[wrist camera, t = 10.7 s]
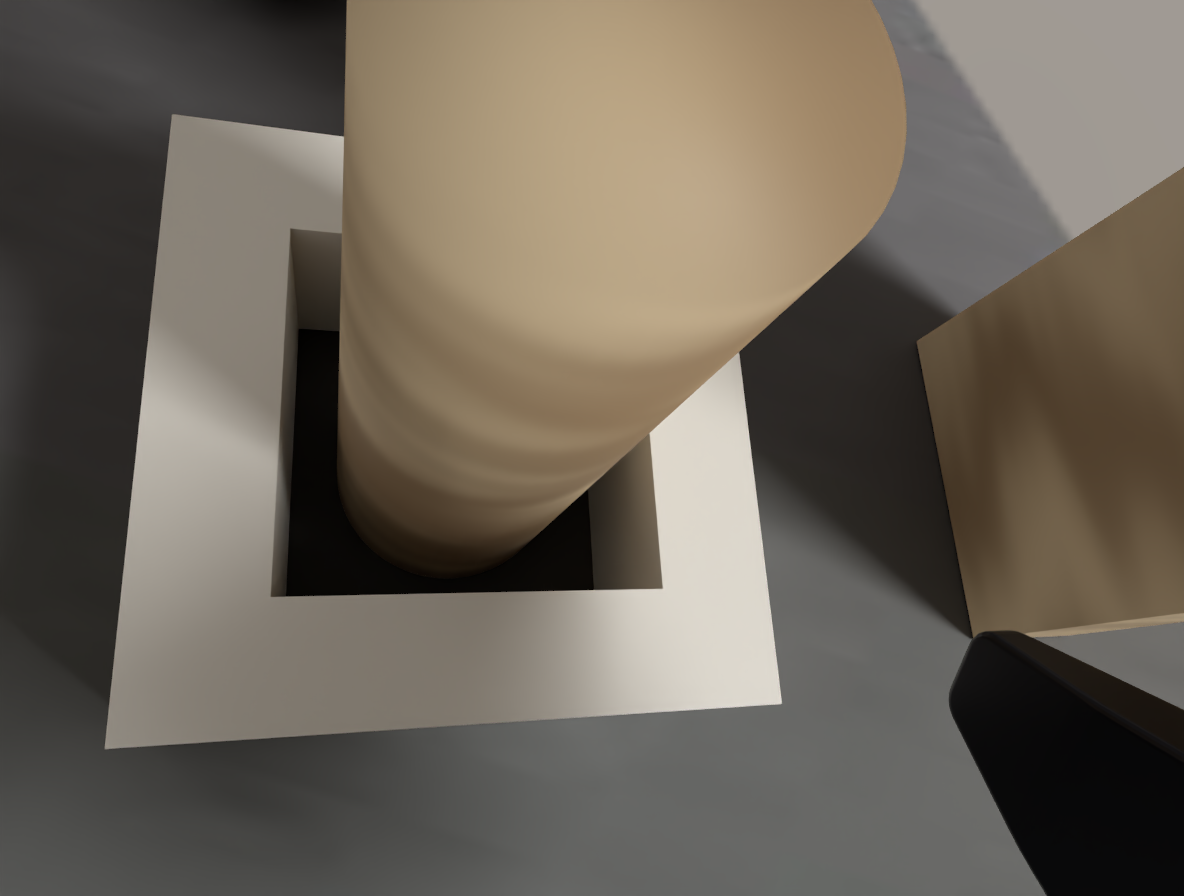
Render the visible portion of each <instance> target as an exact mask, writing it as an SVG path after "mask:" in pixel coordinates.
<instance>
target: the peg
mask: <svg viewBox="0 0 1184 896" xmlns="http://www.w3.org/2000/svg"><path fill="white" fill-rule="evenodd" d="M906 134H907V131H906V102H905V96H904V89H903V83H902V77H901V73H900V69H899V66H898V62H897V59H896V55H895V52H894V48H893V46H892V43H891V41H890V39H889V36H888V34H887V31H886V29H885V26H884V24H883V22H882V19H881V17H880V15H879V14H878V12H877V10H876V8H875V6H874V4H873V3H872V1H871V0H347V17H346V64H345V110H344V157H343V204H342V251H341V297H340V344H339V391H338V437H337V485H338V491H339V496H340V500H341V503H342V506H343V509H344V512H345V514H346V516H347V518H348V520H349V522H350V524H351V526H352V527H353V529H354V530H355V531H356V533H357V534H358V536H359V537H360V538H361V539H362V541H363V542H364V543H365V544H366V545H367V546H368V547H369V548H370V549H371V550H372V551H374V552H375V553H376V554H377V555H378V556H380V557H381V558H382V559H384V560H386V561H387V562H389V563H390V564H392V565H394V566H396V567H398V568H400V569H403V570H405V571H407V572H410V573H413V574H417V575H420V576H425V577H431V578H442V579H453V578H464V577H469V576H473V575H477V574H481V573H483V572H486V571H489V570H491V569H493V568H495V567H497V566H499V565H501V564H503V563H504V562H506V561H507V560H509V559H510V558H511V557H513V556H514V555H515V554H517V553H518V552H519V551H520V550H521V549H522V548H523V547H524V546H525V545H526V544H528V543H529V542H530V541H531V540H532V539H533V538H534V537H535V536H536V535H538V534H539V533H540V532H541V531H542V530H543V529H544V528H545V527H546V526H547V525H549V524H550V523H551V522H552V521H553V520H554V519H555V518H556V517H557V516H558V515H560V514H561V513H562V512H563V511H564V510H565V509H566V508H567V507H568V506H570V505H571V504H572V503H573V502H574V501H575V500H576V499H577V498H578V497H579V496H581V495H582V494H583V493H584V492H585V491H586V490H587V489H588V488H589V487H590V486H592V485H593V484H594V483H595V482H596V481H597V480H598V479H599V478H600V477H601V476H603V475H604V474H605V473H606V472H607V471H608V470H609V469H610V468H611V467H613V466H614V465H615V464H616V463H617V462H618V461H619V460H620V459H621V458H622V457H624V456H625V455H626V454H627V453H628V452H629V451H630V450H631V449H632V448H633V447H635V446H636V445H637V444H638V443H639V442H640V441H641V440H642V439H643V438H645V437H646V436H647V435H648V434H649V433H650V432H651V431H652V430H653V429H654V428H656V427H657V426H658V425H659V424H660V423H661V422H662V421H663V420H664V419H665V418H667V417H668V416H669V415H670V414H671V413H672V412H673V411H674V410H675V409H677V408H678V407H679V406H680V405H681V404H682V403H683V402H684V401H685V400H686V399H688V398H689V397H690V396H691V395H692V394H693V393H694V392H695V391H696V390H697V389H699V388H700V387H701V386H702V385H703V384H704V383H705V382H706V381H707V380H708V379H710V378H711V377H712V376H713V375H714V374H715V373H716V372H717V371H718V370H720V369H721V368H722V367H723V366H724V365H725V364H726V363H727V362H728V361H729V360H731V359H732V358H733V357H734V356H735V355H736V354H737V353H738V352H739V351H740V350H742V349H743V348H744V347H745V346H746V345H747V344H748V343H749V342H750V341H752V340H753V339H754V338H755V337H756V336H757V335H758V334H759V333H760V332H761V331H763V330H764V329H765V328H766V327H767V326H768V325H769V324H770V323H771V322H772V321H774V320H775V319H776V318H777V317H778V316H779V315H780V314H781V313H782V312H784V311H785V310H786V309H787V308H788V307H789V306H790V305H791V304H792V303H793V302H795V301H796V300H797V299H798V298H799V297H800V296H801V295H802V294H803V293H804V292H806V291H807V290H808V289H809V288H810V287H811V286H812V285H813V284H814V283H815V282H817V281H818V280H819V279H820V278H821V277H822V276H823V275H824V274H825V273H827V272H828V271H829V270H830V269H831V268H832V267H833V266H834V265H835V264H836V263H838V262H839V261H840V260H841V259H842V258H843V257H844V256H845V255H846V254H847V253H848V252H849V251H851V250H852V249H853V248H854V247H855V246H856V245H857V244H858V243H859V242H860V241H861V240H862V239H863V238H864V237H865V236H866V235H867V234H868V232H869V231H870V230H871V228H872V227H873V226H874V224H875V223H876V221H877V220H878V219H879V217H880V216H881V215H882V213H883V212H884V210H885V207H886V205H887V203H888V201H889V199H890V197H891V195H892V193H893V191H894V189H895V187H896V183H897V180H898V176H899V173H900V170H901V166H902V163H903V157H904V149H905V142H906Z"/></svg>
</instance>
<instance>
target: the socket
mask: <svg viewBox="0 0 1184 896" xmlns="http://www.w3.org/2000/svg"><path fill="white" fill-rule="evenodd" d="M343 157H344V137H342V136H334V135H327V134H319V133H312V132H304V131H297V130H289V129H281V128H274V127H266V126H259V125H251V124H243V123H236V122H228V121H221V120H213V119H205V118H198V117H190V116H183V115H175V114H172V120H171V129H170V139H169V148H168V157H167V167H166V176H165V185H164V195H163V204H162V214H161V223H160V232H159V242H158V251H157V261H156V270H155V279H154V289H153V298H152V308H151V317H150V326H149V336H148V345H147V355H146V364H145V373H144V383H143V392H142V402H141V411H140V420H139V430H138V439H137V449H136V458H135V467H134V477H133V486H132V495H131V505H130V514H129V524H128V533H127V542H126V552H125V561H124V571H123V580H122V589H121V599H120V608H119V618H118V627H117V636H116V646H115V655H114V665H113V674H112V683H111V693H110V702H109V712H108V721H107V730H106V740H105V749H114V748H129V747H144V746H158V745H173V744H188V743H203V742H218V741H233V740H248V739H263V738H278V737H293V736H308V735H323V734H338V733H353V732H368V731H383V730H398V729H413V728H428V727H443V726H458V725H473V724H488V723H503V722H518V721H533V720H548V719H563V718H578V717H593V716H608V715H622V714H637V713H652V712H667V711H682V710H697V709H712V708H727V707H742V706H757V705H772V704H782V700H781V692H780V684H779V676H778V667H777V659H776V651H775V643H774V635H773V626H772V618H771V610H770V602H769V594H768V585H767V577H766V569H765V561H764V553H763V544H762V536H761V528H760V520H759V512H758V503H757V495H756V487H755V479H754V471H753V462H752V454H751V446H750V438H749V430H748V421H747V413H746V405H745V397H744V389H743V380H742V372H741V364H740V356H739V352H738V353H737V354H736V355H735V356H734V357H733V358H732V359H731V360H729V361H728V362H727V363H726V364H725V365H724V366H723V367H722V368H721V369H720V370H718V371H717V372H716V373H715V374H714V375H713V376H712V377H711V378H710V379H708V380H707V381H706V382H705V383H704V384H703V385H702V386H701V387H700V388H699V389H697V390H696V391H695V392H694V393H693V394H692V395H691V396H690V397H689V398H688V399H686V400H685V401H684V402H683V403H682V404H681V405H680V406H679V407H678V408H677V409H675V410H674V411H673V412H672V413H671V414H670V415H669V416H668V417H667V418H665V419H664V420H663V421H662V422H661V423H660V424H659V425H658V426H657V427H656V428H654V429H653V430H652V431H651V432H650V433H649V434H648V435H647V436H646V437H645V438H643V439H642V440H641V441H640V442H639V443H638V444H637V445H636V446H635V447H633V448H632V449H631V450H630V451H629V452H628V453H627V454H626V455H625V456H624V457H622V458H621V459H620V460H619V461H618V462H617V463H616V464H615V465H614V466H613V467H611V468H610V469H609V470H608V471H607V472H606V473H605V474H604V475H603V476H601V477H600V478H599V479H598V480H597V481H596V482H595V483H594V484H593V485H592V486H590V487H589V488H588V499H589V515H590V532H591V548H592V565H593V581H594V590H580V591H532V592H485V593H437V594H390V595H342V596H295V597H286V583H287V562H288V541H289V521H290V500H291V479H292V459H293V438H294V417H295V396H296V376H297V355H298V334H299V329H311V330H326V331H340V297H341V251H342V204H343Z"/></svg>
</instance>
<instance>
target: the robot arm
mask: <svg viewBox="0 0 1184 896" xmlns="http://www.w3.org/2000/svg"><path fill="white" fill-rule="evenodd" d="M949 707H950V711H951V714H952V716H953V719H954V721H955V723H956V725H957V727H958V729H959V731H960V733H961V735H962V737H963V739H964V741H965V743H966V745H967V747H968V749H969V751H970V753H971V755H972V757H973V759H974V761H975V763H976V765H977V767H978V769H979V771H980V773H981V775H982V777H983V779H984V781H985V783H986V785H987V787H988V789H989V791H990V793H991V795H992V797H993V799H994V801H995V803H996V805H997V807H998V809H999V811H1000V813H1001V815H1002V817H1003V819H1004V821H1005V823H1006V825H1007V827H1008V829H1009V831H1010V833H1011V834H1012V836H1013V838H1014V840H1015V842H1016V844H1017V846H1018V848H1019V850H1020V851H1021V853H1022V855H1023V857H1024V858H1025V860H1026V862H1027V864H1028V865H1029V867H1030V869H1031V870H1032V872H1033V874H1034V876H1035V877H1036V879H1037V880H1038V882H1039V884H1040V885H1041V887H1042V889H1043V890H1044V892H1045V894H1046V895H1047V896H1184V710H1183V709H1181V708H1179V707H1177V706H1174V705H1172V704H1170V703H1168V702H1166V701H1164V700H1162V699H1160V698H1158V697H1156V696H1153V695H1151V694H1149V693H1147V692H1145V691H1143V690H1141V689H1139V688H1137V687H1135V686H1132V685H1130V684H1128V683H1126V682H1124V681H1122V680H1120V679H1118V678H1116V677H1114V676H1111V675H1109V674H1107V673H1105V672H1103V671H1101V670H1099V669H1097V668H1095V667H1093V666H1090V665H1088V664H1086V663H1084V662H1082V661H1080V660H1078V659H1076V658H1074V657H1072V656H1069V655H1067V654H1065V653H1063V652H1061V651H1059V650H1057V649H1055V648H1053V647H1051V646H1048V645H1046V644H1044V643H1042V642H1040V641H1038V640H1036V639H1034V638H1032V637H1030V636H1027V635H1025V634H1023V633H1021V632H1018V631H1013V630H1001V631H984V632H981V633H978V634H977V635H976V636H975V637H974V638H973V639H972V641H971V642H970V644H969V646H968V649H967V651H966V653H965V656H964V658H963V660H962V663H961V665H960V667H959V670H958V672H957V674H956V677H955V679H954V681H953V684H952V686H951V689H950V692H949Z"/></svg>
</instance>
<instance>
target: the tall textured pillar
mask: <svg viewBox="0 0 1184 896" xmlns="http://www.w3.org/2000/svg"><path fill="white" fill-rule="evenodd" d="M917 346H918V351H919V357H920V362H921V367H922V372H923V377H924V383H925V388H926V393H927V398H928V404H929V409H930V414H931V419H932V425H933V430H934V435H935V440H936V445H937V451H938V456H939V461H940V466H941V472H942V477H943V482H944V487H945V493H946V498H947V503H948V508H949V513H950V519H951V524H952V529H953V534H954V540H955V545H956V550H957V555H958V561H959V566H960V571H961V576H962V581H963V587H964V592H965V597H966V602H967V608H968V613H969V618H970V623H971V629H972V634H973V638H974V637H975V636H976V635H977V634H978V633H981V632H984V631H1001V630H1013V631H1018V632H1021V633H1023V634H1025V635H1027V636H1030V637H1049V636H1068V635H1076V634H1085V633H1093V632H1102V631H1110V630H1119V629H1127V628H1136V627H1144V626H1153V625H1161V624H1170V623H1178V622H1184V167H1183V168H1182V169H1181V170H1179V171H1177V172H1176V173H1174V174H1173V175H1171V176H1170V177H1168V178H1166V179H1165V180H1163V181H1162V182H1160V183H1159V184H1157V185H1156V186H1154V187H1153V188H1151V189H1150V190H1148V191H1146V192H1145V193H1143V194H1142V195H1140V196H1139V197H1137V198H1136V199H1134V200H1133V201H1131V202H1130V203H1128V204H1127V205H1125V206H1123V207H1122V208H1120V209H1119V210H1117V211H1116V212H1114V213H1113V214H1111V215H1110V216H1108V217H1107V218H1105V219H1104V220H1102V221H1100V222H1099V223H1097V224H1096V225H1094V226H1093V227H1091V228H1090V229H1088V230H1087V231H1085V232H1084V233H1082V234H1080V235H1079V236H1077V237H1076V238H1074V239H1073V240H1071V241H1070V242H1068V243H1067V244H1065V245H1064V246H1062V247H1061V248H1059V249H1057V250H1056V251H1054V252H1053V253H1051V254H1050V255H1048V256H1047V257H1045V258H1044V259H1042V260H1041V261H1039V262H1038V263H1036V264H1034V265H1033V266H1031V267H1030V268H1028V269H1027V270H1025V271H1024V272H1022V273H1021V274H1019V275H1018V276H1016V277H1014V278H1013V279H1011V280H1010V281H1008V282H1007V283H1005V284H1004V285H1002V286H1001V287H999V288H998V289H996V290H995V291H993V292H991V293H990V294H988V295H987V296H985V297H984V298H982V299H981V300H979V301H978V302H976V303H975V304H973V305H972V306H970V307H968V308H967V309H965V310H964V311H962V312H961V313H959V314H958V315H956V316H955V317H953V318H952V319H950V320H949V321H947V322H945V323H944V324H942V325H941V326H939V327H938V328H936V329H935V330H933V331H932V332H930V333H929V334H927V335H925V336H924V337H922V338H921V339H919V340H918V341H917Z"/></svg>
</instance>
